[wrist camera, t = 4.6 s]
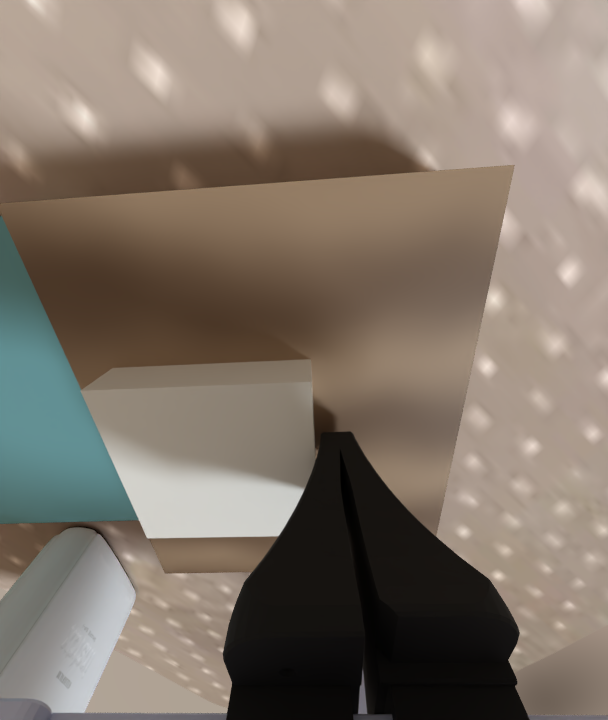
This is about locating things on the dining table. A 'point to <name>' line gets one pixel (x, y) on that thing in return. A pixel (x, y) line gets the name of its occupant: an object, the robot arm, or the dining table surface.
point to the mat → (46, 418)
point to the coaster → (209, 444)
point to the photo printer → (63, 621)
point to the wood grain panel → (286, 305)
